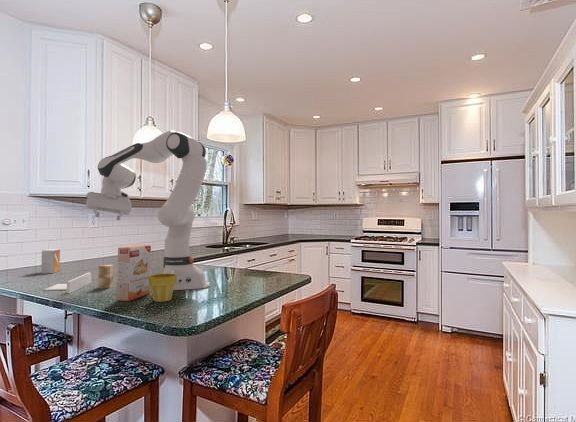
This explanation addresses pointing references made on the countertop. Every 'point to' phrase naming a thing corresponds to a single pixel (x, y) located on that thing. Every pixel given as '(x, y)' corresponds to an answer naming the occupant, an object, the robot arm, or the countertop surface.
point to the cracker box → (133, 272)
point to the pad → (57, 287)
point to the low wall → (78, 282)
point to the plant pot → (162, 286)
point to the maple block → (105, 276)
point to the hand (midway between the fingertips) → (107, 217)
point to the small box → (50, 261)
